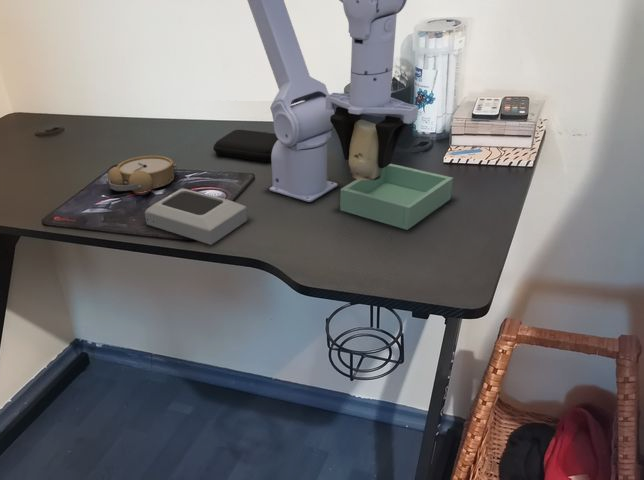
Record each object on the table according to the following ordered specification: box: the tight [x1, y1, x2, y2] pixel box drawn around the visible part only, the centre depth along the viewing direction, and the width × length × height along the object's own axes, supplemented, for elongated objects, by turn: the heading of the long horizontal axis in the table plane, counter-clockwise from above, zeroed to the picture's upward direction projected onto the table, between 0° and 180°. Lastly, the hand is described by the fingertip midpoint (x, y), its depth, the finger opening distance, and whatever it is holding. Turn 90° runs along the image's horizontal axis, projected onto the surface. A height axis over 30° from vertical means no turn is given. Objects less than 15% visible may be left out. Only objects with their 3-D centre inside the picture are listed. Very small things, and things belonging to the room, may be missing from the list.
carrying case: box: [213, 129, 278, 163], centre depth 130 cm, size 11×3×15 cm
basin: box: [339, 163, 454, 231], centre depth 103 cm, size 13×13×4 cm
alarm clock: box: [105, 155, 178, 196], centre depth 124 cm, size 11×5×15 cm
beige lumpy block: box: [348, 119, 382, 180], centre depth 96 cm, size 6×5×8 cm
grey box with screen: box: [144, 187, 248, 246], centre depth 108 cm, size 10×4×15 cm
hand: (366, 161), depth 97 cm, fingers closed on beige lumpy block, 6 cm apart
